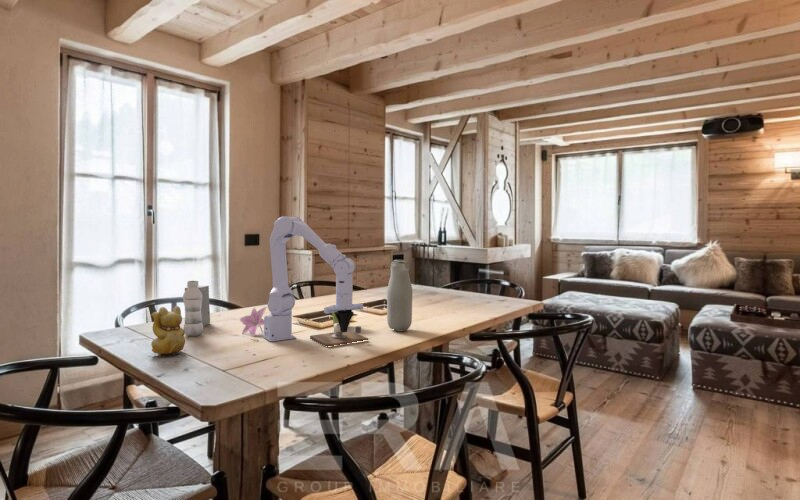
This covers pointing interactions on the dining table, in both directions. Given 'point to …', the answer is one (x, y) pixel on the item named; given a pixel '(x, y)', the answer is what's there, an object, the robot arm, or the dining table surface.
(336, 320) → the plant pot
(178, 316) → the decorative figurine
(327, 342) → the brown rectangular board
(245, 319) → the lily
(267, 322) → the robot arm
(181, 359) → the dining table surface
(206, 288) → the skincare box
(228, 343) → the dining table surface
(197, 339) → the dining table surface
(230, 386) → the dining table surface
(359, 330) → the gray-tipped lever post
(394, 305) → the grey water bottle
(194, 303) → the plastic bottle
